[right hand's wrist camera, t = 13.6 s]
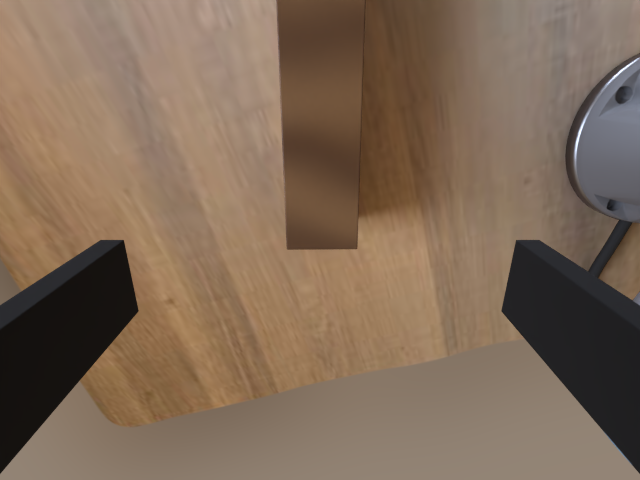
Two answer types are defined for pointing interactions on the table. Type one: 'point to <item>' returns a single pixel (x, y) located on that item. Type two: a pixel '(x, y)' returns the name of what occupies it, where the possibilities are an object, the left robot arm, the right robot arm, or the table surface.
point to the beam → (321, 119)
